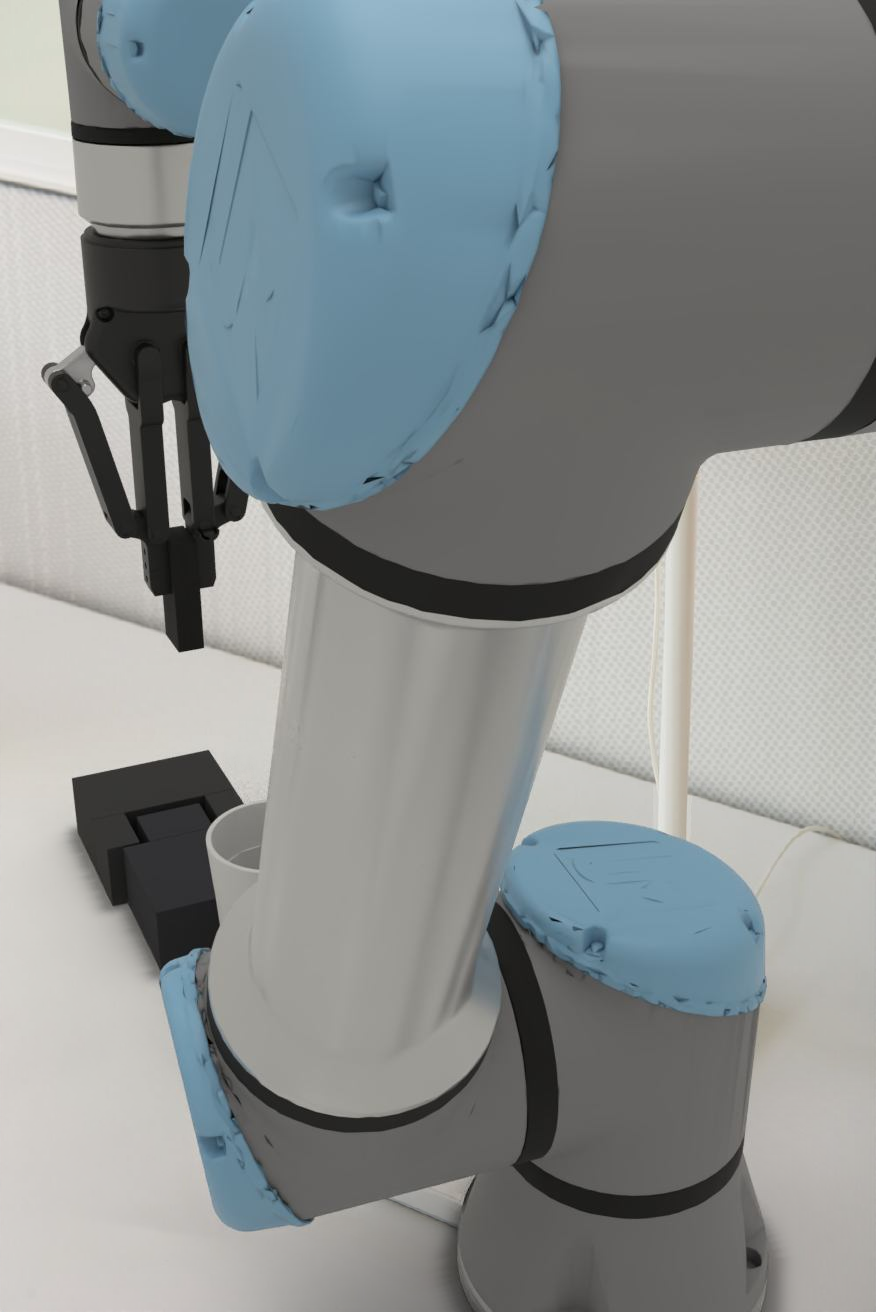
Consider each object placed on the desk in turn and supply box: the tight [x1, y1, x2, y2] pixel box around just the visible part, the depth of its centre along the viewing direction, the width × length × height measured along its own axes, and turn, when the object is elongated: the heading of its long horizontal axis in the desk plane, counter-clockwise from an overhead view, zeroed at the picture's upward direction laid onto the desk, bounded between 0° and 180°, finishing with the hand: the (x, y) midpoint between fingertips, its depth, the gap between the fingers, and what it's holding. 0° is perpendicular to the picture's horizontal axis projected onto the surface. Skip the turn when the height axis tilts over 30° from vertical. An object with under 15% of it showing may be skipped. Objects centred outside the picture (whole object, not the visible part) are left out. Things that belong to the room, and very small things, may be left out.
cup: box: [206, 798, 267, 925], centre depth 97 cm, size 8×8×12 cm
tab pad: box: [123, 803, 220, 972], centre depth 107 cm, size 11×8×4 cm
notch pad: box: [71, 749, 245, 907], centre depth 113 cm, size 10×10×4 cm
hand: (184, 640), depth 93 cm, fingers closed
